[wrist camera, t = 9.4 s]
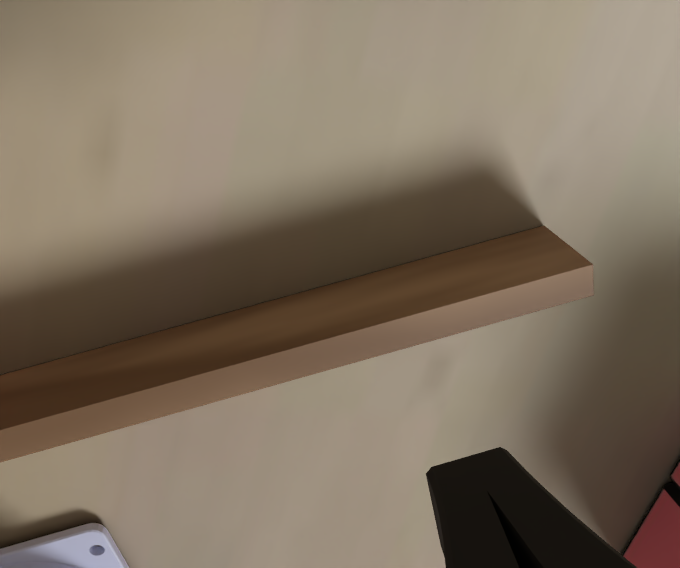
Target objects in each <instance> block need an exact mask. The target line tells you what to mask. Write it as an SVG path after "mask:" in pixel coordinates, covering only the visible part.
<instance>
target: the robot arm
mask: <svg viewBox="0 0 680 568" xmlns="http://www.w3.org/2000/svg"><path fill="white" fill-rule="evenodd" d="M426 476H427V481H428V486H429V491H430V496H431V500H432V505H433V510H434V515H435V520H436V524H437V529H438V534H439V539H440V544H441V547H442V550H443V553H444V557H445V563H446V568H637V567H636V566H635V565H634V564H632V563H631V562H630V561H628V560H627V559H626V558H625V557H623V556H622V555H621V554H620V553H619V552H617V551H616V550H615V549H614V548H612V547H611V546H610V545H609V544H607V543H606V542H605V541H604V540H603V539H602V538H600V537H599V536H598V535H597V534H596V533H595V532H593V531H592V530H591V529H590V528H589V527H587V526H586V525H585V524H584V523H583V522H582V521H580V520H579V519H578V518H577V517H576V516H575V515H573V514H572V513H571V512H570V511H569V510H568V509H567V508H566V507H564V506H563V505H562V504H561V503H560V502H559V501H558V500H557V499H556V498H555V497H554V496H553V495H551V494H550V493H549V492H548V491H547V490H546V489H545V488H544V487H543V486H542V485H541V484H540V483H539V482H538V481H537V480H536V479H535V478H533V477H532V476H531V475H530V474H529V473H528V472H527V471H526V470H525V469H524V468H523V467H522V466H521V465H520V464H519V462H518V461H517V460H516V459H515V458H514V457H513V456H512V455H511V454H510V453H509V452H508V451H507V450H505V449H503V448H501V447H499V448H495V449H492V450H488V451H485V452H482V453H478V454H475V455H471V456H468V457H464V458H461V459H458V460H454V461H451V462H447V463H444V464H440V465H437V466H434V467H431V468H430V470H429V471H428V472H427V473H426ZM94 545H100V546H99V547H97V546H94ZM0 568H129V566H128V565H127V563H126V561H125V559H124V558H123V556H122V554H121V552H120V551H119V549H118V547H117V546H116V544H115V542H114V540H113V539H112V537H111V535H110V534H109V532H108V530H107V529H106V528H105V527H104V526H103V525H101V524H99V523H89V524H85V525H81V526H78V527H74V528H71V529H67V530H64V531H60V532H57V533H54V534H50V535H47V536H43V537H40V538H36V539H33V540H29V541H26V542H22V543H19V544H15V545H12V546H8V547H5V548H2V549H0Z"/></svg>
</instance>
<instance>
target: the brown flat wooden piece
mask: <svg viewBox="0 0 680 568" xmlns="http://www.w3.org/2000/svg"><path fill="white" fill-rule="evenodd" d="M592 295H594V282H593V264H592V263H590V262H589V261H588V260H587V259H585V258H584V257H583V256H582V255H580V254H579V253H578V252H577V251H575V250H574V249H573V248H572V247H570V246H569V245H568V244H567V243H565V242H564V241H563V240H562V239H560V238H559V237H558V236H557V235H555V234H554V233H553V232H552V231H550V230H549V229H548V228H546V227H545V226H541V227H537V228H533V229H530V230H526V231H522V232H519V233H515V234H512V235H508V236H504V237H501V238H497V239H493V240H490V241H486V242H482V243H479V244H475V245H472V246H468V247H464V248H461V249H457V250H453V251H450V252H446V253H443V254H439V255H435V256H432V257H428V258H424V259H421V260H417V261H413V262H410V263H406V264H403V265H399V266H395V267H392V268H388V269H384V270H381V271H377V272H374V273H370V274H366V275H363V276H359V277H355V278H352V279H348V280H344V281H341V282H337V283H334V284H330V285H326V286H323V287H319V288H315V289H312V290H308V291H304V292H301V293H297V294H294V295H290V296H286V297H283V298H279V299H275V300H272V301H268V302H265V303H261V304H257V305H254V306H250V307H246V308H243V309H239V310H235V311H232V312H228V313H225V314H221V315H217V316H214V317H210V318H206V319H203V320H199V321H196V322H192V323H188V324H185V325H181V326H177V327H174V328H170V329H166V330H163V331H159V332H156V333H152V334H148V335H145V336H141V337H137V338H134V339H130V340H127V341H123V342H119V343H116V344H112V345H108V346H105V347H101V348H97V349H94V350H90V351H87V352H83V353H79V354H76V355H72V356H68V357H65V358H61V359H57V360H54V361H50V362H47V363H43V364H39V365H36V366H32V367H28V368H25V369H21V370H18V371H14V372H10V373H7V374H3V375H0V462H4V461H7V460H11V459H14V458H18V457H21V456H25V455H28V454H32V453H36V452H39V451H43V450H46V449H50V448H53V447H57V446H60V445H64V444H67V443H71V442H75V441H78V440H82V439H85V438H89V437H92V436H96V435H99V434H103V433H106V432H110V431H114V430H117V429H121V428H124V427H128V426H131V425H135V424H138V423H142V422H145V421H149V420H153V419H156V418H160V417H163V416H167V415H170V414H174V413H177V412H181V411H184V410H188V409H192V408H195V407H199V406H202V405H206V404H209V403H213V402H216V401H220V400H224V399H227V398H231V397H234V396H238V395H241V394H245V393H248V392H252V391H255V390H259V389H263V388H266V387H270V386H273V385H277V384H280V383H284V382H287V381H291V380H294V379H298V378H302V377H305V376H309V375H312V374H316V373H319V372H323V371H326V370H330V369H333V368H337V367H341V366H344V365H348V364H351V363H355V362H358V361H362V360H365V359H369V358H372V357H376V356H380V355H383V354H387V353H390V352H394V351H397V350H401V349H404V348H408V347H411V346H415V345H419V344H422V343H426V342H429V341H433V340H436V339H440V338H443V337H447V336H451V335H454V334H458V333H461V332H465V331H468V330H472V329H475V328H479V327H482V326H486V325H490V324H493V323H497V322H500V321H504V320H507V319H511V318H514V317H518V316H521V315H525V314H529V313H532V312H536V311H539V310H543V309H546V308H550V307H553V306H557V305H560V304H564V303H568V302H571V301H575V300H578V299H582V298H585V297H589V296H592Z"/></svg>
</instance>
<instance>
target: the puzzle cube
mask: <svg viewBox="0 0 680 568" xmlns="http://www.w3.org/2000/svg"><path fill="white" fill-rule="evenodd" d="M671 479H672V481H673V483H669V484H665V485H664V487H663V489H662V490H661V492H660V494H659V495H658V497H657V499H656V500H655V502H654V504H653V505H652V507H651V509H650V510H649V512H648V514H647V515H646V517H645V519H644V520H643V522H642V524H641V525H640V527H639V529H638V530H637V532H636V534H635V535H634V537H633V539H632V540H631V542H630V544H629V545H628V547H627V549H626V550H625V552H624V554H623V555H622V556H623V557H625V558H626V559H627V560H628V561H630V562H631V563H632V564H634V565H635V566H636V567H637V568H680V460H679V462H678V464H677V465H676V467H675V469H674V470H673V472H672V475H671Z"/></svg>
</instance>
